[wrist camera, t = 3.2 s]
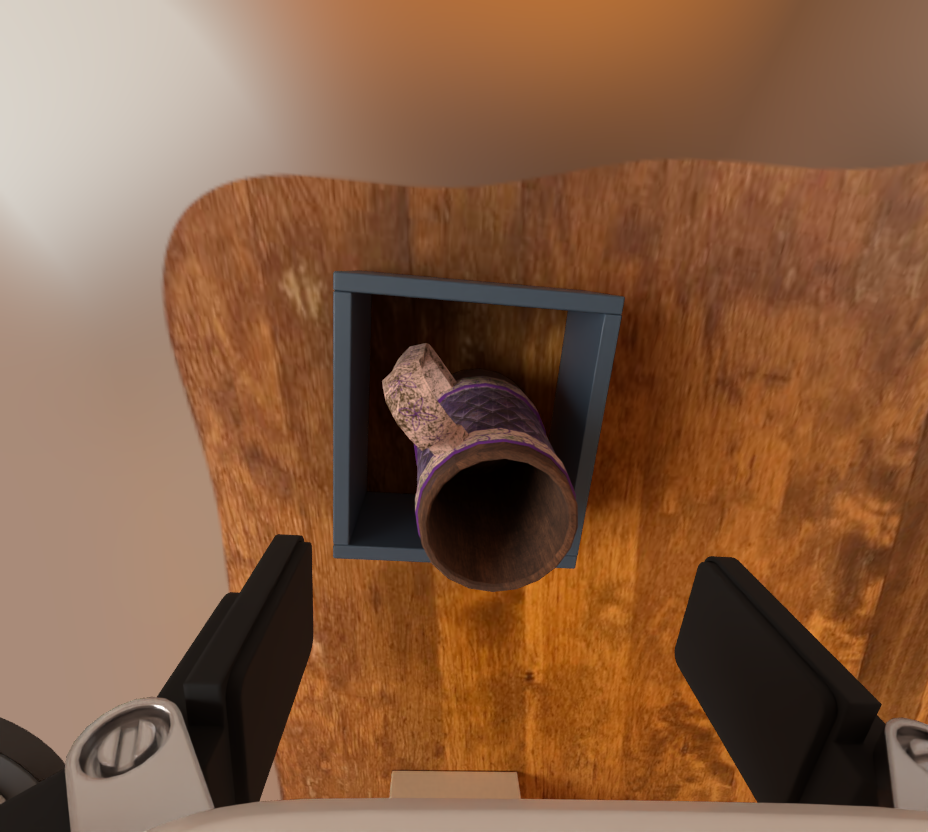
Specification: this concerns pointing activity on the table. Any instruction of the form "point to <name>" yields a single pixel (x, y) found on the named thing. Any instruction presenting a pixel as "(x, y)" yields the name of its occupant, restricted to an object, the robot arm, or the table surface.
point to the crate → (354, 509)
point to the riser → (454, 784)
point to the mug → (481, 474)
